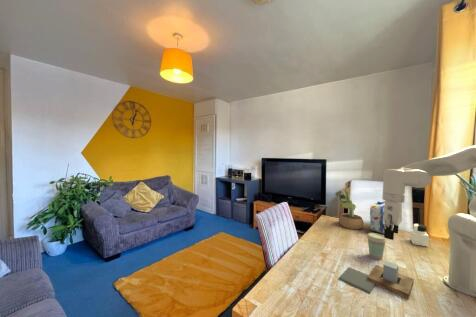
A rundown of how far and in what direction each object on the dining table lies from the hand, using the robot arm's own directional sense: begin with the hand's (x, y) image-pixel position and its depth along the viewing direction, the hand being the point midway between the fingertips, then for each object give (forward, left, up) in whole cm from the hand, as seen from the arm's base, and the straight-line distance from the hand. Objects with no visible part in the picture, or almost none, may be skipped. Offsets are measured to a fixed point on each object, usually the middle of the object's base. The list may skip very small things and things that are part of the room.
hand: (391, 235), depth 86 cm
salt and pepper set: (-4, -60, -22) cm, 64 cm away
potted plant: (+36, -56, -22) cm, 70 cm away
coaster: (+10, +9, -21) cm, 25 cm away
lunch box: (+16, -68, -22) cm, 73 cm away
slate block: (0, 0, -21) cm, 21 cm away
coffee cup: (+10, -20, -22) cm, 31 cm away
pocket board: (0, 0, -21) cm, 21 cm away
